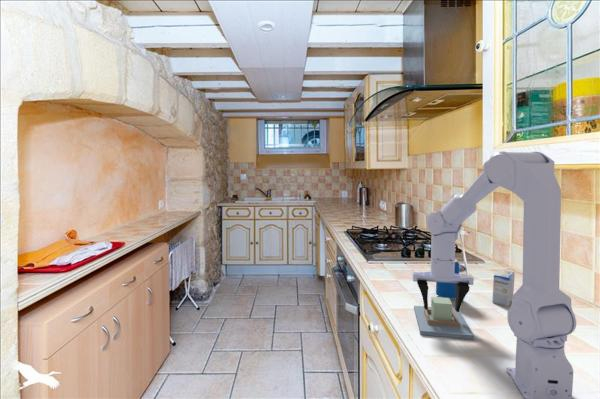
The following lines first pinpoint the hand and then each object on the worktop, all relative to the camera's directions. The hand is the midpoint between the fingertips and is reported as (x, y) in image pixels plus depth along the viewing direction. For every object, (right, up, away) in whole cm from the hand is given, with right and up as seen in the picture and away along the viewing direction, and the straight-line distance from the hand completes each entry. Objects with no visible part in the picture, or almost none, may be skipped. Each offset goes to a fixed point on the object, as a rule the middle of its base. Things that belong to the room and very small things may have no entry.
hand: (441, 309), depth 90 cm
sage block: (0, -3, 0) cm, 3 cm away
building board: (0, -4, 0) cm, 4 cm away
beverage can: (+9, -2, +19) cm, 21 cm away
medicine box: (+25, -3, +15) cm, 29 cm away
